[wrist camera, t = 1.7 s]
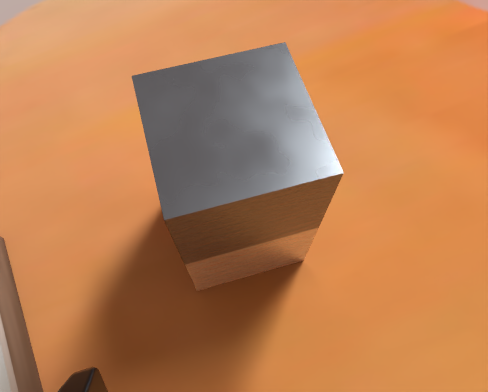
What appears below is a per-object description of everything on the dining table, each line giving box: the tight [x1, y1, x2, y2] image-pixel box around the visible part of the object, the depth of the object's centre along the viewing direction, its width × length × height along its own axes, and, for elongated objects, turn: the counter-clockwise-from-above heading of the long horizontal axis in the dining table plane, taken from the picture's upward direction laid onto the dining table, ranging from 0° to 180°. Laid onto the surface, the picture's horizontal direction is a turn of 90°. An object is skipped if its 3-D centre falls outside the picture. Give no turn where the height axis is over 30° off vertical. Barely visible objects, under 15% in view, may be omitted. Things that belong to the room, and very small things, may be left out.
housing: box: [132, 42, 343, 291], centre depth 19 cm, size 6×6×10 cm
